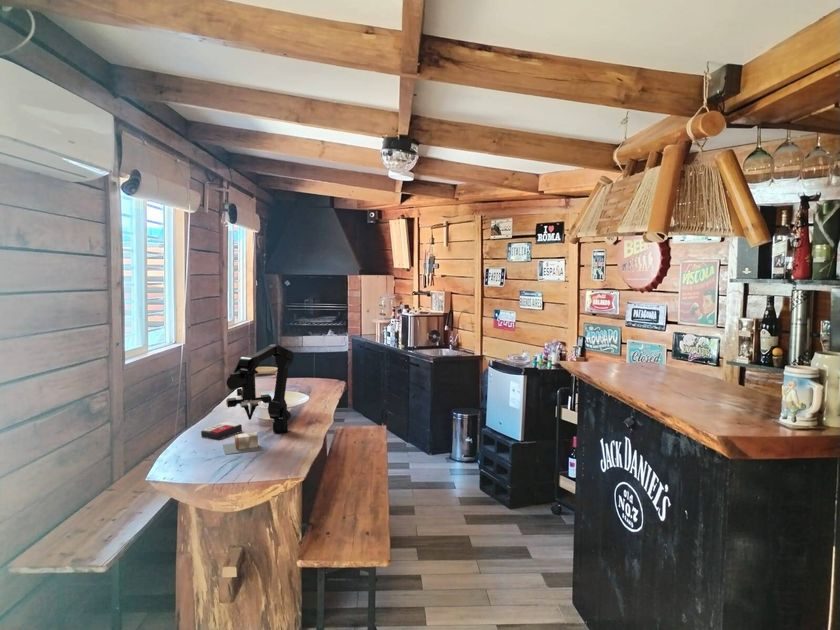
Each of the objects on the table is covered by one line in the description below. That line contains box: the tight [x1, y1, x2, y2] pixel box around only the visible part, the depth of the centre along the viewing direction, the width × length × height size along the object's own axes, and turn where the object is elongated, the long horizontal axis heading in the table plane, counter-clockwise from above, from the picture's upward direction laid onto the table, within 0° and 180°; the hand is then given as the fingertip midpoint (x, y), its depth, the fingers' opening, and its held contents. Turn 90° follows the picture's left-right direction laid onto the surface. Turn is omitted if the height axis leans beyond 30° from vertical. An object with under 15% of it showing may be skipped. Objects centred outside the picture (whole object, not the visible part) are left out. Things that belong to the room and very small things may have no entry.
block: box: [234, 432, 259, 449], centre depth 233 cm, size 5×5×9 cm
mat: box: [222, 442, 259, 455], centre depth 232 cm, size 13×14×1 cm
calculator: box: [200, 421, 243, 440], centre depth 252 cm, size 11×4×15 cm
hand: (249, 419), depth 237 cm, fingers closed
